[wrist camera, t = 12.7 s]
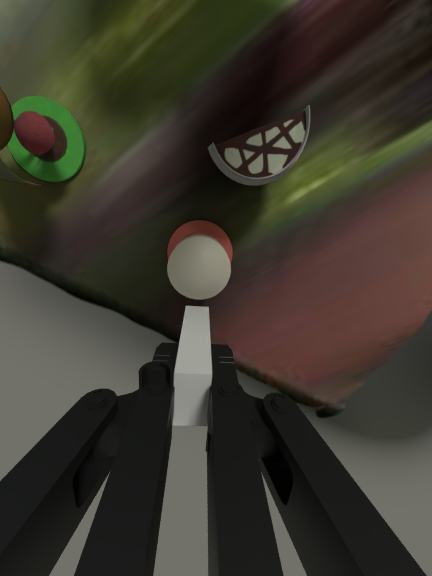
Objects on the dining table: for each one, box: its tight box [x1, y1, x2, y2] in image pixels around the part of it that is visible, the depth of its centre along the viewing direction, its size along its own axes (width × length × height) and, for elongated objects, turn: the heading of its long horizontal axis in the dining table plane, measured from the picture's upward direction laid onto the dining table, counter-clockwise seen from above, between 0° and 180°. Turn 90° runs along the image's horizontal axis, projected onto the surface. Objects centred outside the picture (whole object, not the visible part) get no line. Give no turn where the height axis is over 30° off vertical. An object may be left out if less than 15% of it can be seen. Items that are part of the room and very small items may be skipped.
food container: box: [208, 105, 310, 186], centre depth 32 cm, size 12×6×10 cm, turn 109°
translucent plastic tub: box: [0, 88, 85, 186], centre depth 27 cm, size 12×13×15 cm
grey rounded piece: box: [167, 234, 231, 300], centre depth 33 cm, size 8×8×7 cm
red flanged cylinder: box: [167, 220, 233, 264], centre depth 37 cm, size 11×11×7 cm
